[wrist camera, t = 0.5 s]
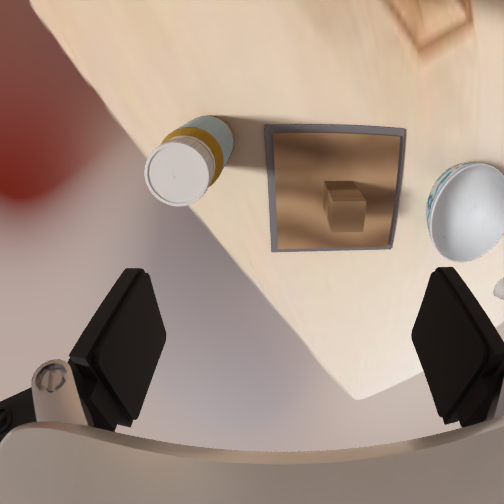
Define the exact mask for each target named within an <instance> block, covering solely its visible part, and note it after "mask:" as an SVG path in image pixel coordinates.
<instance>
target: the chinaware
mask: <svg viewBox="0 0 504 504" xmlns="http://www.w3.org/2000/svg"><path fill="white" fill-rule="evenodd" d="M426 216H427V225H428V230H429V234H430V237H431V239H432V242H433V244H434V246H435V248H436V249H437V251H438V252H439V253H440V254H441V255H442V256H443V257H444V258H446V259H448V260H450V261H454V262H468V261H472V260H474V259H477V258H479V257H481V256H482V255H484V254H485V253H487V252H488V251H489V250H490V249H491V248H492V247H493V246H494V245H495V244H496V243H497V242H498V240H499V239H500V237H501V236H502V234H503V233H504V175H503V174H502V173H501V172H500V171H499V170H498V169H496V168H495V167H493V166H491V165H488V164H485V163H480V162H465V163H460V164H457V165H455V166H453V167H451V168H449V169H448V170H446V171H445V172H444V173H443V174H442V175H441V176H440V177H439V178H438V179H437V181H436V182H435V184H434V185H433V187H432V189H431V192H430V194H429V198H428V202H427V211H426Z"/></svg>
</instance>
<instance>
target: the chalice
mask: <svg viewBox="0 0 504 504" xmlns="http://www.w3.org/2000/svg"><path fill="white" fill-rule="evenodd" d="M493 294H494V295H495V296H497V297H498V298H500V299H504V278H503V279H501V280H500V281H499V282H498V283H497V284H496V286H495V288H494V291H493Z"/></svg>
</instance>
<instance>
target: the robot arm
mask: <svg viewBox="0 0 504 504" xmlns="http://www.w3.org/2000/svg"><path fill="white" fill-rule="evenodd" d="M165 341H166V331H165V328H164V324H163V321H162V318H161V315H160V311H159V308H158V304H157V301H156V297H155V294H154V290H153V286H152V283H151V279H150V276H149V274H148V273H145V271H144V270H143V269H140V268H127V269H125V270H124V271H123V273H122V274H121V276H120V277H119V279H118V280H117V281H116V283H115V284H114V286H113V287H112V289H111V290H110V292H109V293H108V295H107V296H106V298H105V299H104V300H103V302H102V303H101V305H100V306H99V308H98V310H97V311H96V313H95V314H94V316H93V317H92V319H91V321H90V322H89V324H88V325H87V327H86V328H85V330H84V331H83V333H82V335H81V336H80V338H79V340H78V341H77V343H76V344H75V346H74V348H73V349H72V351H71V353H70V354H69V356H70V359H69V361H68V363H67V362H65V361H63V360H60V359H54V360H50V361H48V362H45V363H43V364H42V365H41V366H40V367H38V368H37V370H36V371H35V373H34V374H33V377H32V382H31V386H32V387H31V388H29V389H27V390H25V391H22V392H20V393H18V394H16V395H14V396H12V397H9V398H7V399H5V400H3V401H1V402H0V504H504V342H503V340H502V339H501V337H500V335H499V334H498V332H497V330H496V329H495V327H494V325H493V324H492V322H491V321H490V319H489V318H488V316H487V314H486V313H485V311H484V310H483V308H482V307H481V305H480V304H479V302H478V301H477V299H476V298H475V297H474V295H473V294H472V292H471V291H470V289H469V288H468V287H467V285H466V284H465V282H464V281H463V280H462V278H461V277H460V276H459V274H458V273H457V272H456V270H455V269H454V268H453V267H438V268H437V269H436V270H435V272H432V274H431V276H430V279H429V282H428V286H427V289H426V292H425V295H424V298H423V301H422V304H421V307H420V310H419V313H418V316H417V318H416V321H415V324H414V327H413V329H412V341H413V344H414V346H415V349H416V352H417V354H418V357H419V360H420V362H421V365H422V368H423V370H424V373H425V376H426V379H427V382H428V385H429V387H430V391H431V393H432V396H433V400H434V402H435V406H436V409H437V412H438V414H439V416H440V417H443V421H444V424H449V423H453V422H457V421H458V420H459V421H460V425H461V426H460V428H459V429H456V430H452V431H448V432H444V433H440V434H436V435H432V436H427V437H422V438H418V439H413V440H408V441H402V442H396V443H390V444H384V445H377V446H369V447H360V448H351V449H341V450H327V451H307V452H260V451H259V452H258V451H239V450H224V449H213V448H204V447H195V446H187V445H181V444H173V443H167V442H162V441H156V440H151V439H145V438H140V437H135V436H130V435H125V434H121V433H116V432H115V429H116V426H117V424H118V425H122V426H127V427H131V425H132V422H133V420H136V419H137V418H138V416H139V414H140V410H141V408H142V405H143V402H144V399H145V396H146V394H147V391H148V388H149V385H150V382H151V380H152V377H153V374H154V371H155V369H156V366H157V363H158V360H159V358H160V355H161V352H162V350H163V347H164V344H165Z"/></svg>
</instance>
